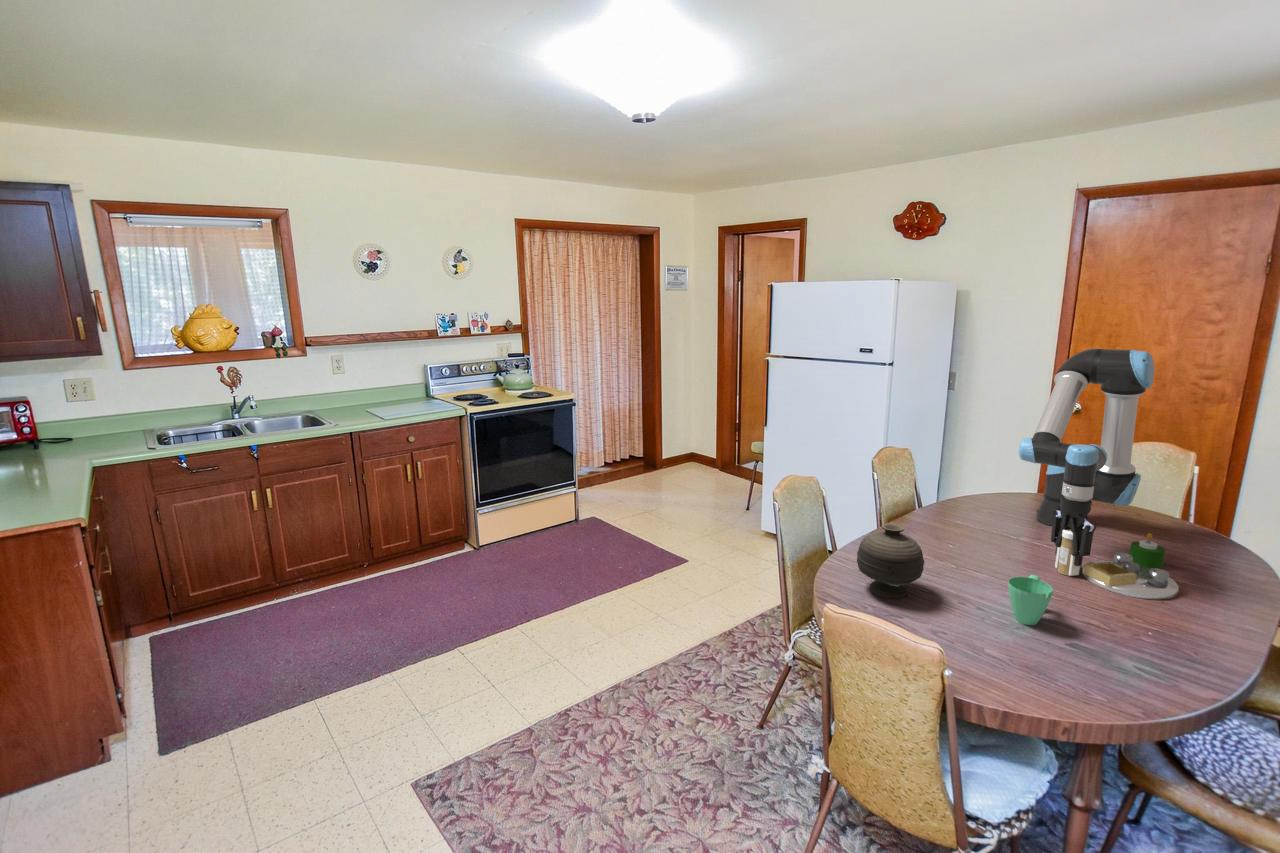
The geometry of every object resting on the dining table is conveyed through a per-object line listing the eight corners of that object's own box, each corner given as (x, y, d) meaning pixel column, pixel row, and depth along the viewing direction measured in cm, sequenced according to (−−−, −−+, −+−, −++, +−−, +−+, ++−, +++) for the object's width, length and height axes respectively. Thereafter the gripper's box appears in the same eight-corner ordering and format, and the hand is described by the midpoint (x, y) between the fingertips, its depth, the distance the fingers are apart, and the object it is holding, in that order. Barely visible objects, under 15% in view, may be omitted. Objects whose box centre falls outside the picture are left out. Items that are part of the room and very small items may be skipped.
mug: (1046, 634, 154) (1051, 598, 152) (1001, 622, 160) (1005, 587, 158) (1052, 610, 165) (1056, 576, 163) (1009, 600, 171) (1013, 566, 169)
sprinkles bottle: (1077, 577, 184) (1083, 534, 181) (1059, 575, 185) (1065, 533, 183) (1072, 570, 188) (1078, 529, 186) (1055, 568, 190) (1060, 527, 187)
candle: (1163, 562, 193) (1168, 532, 191) (1161, 571, 187) (1166, 540, 185) (1129, 555, 198) (1134, 526, 196) (1126, 563, 192) (1131, 533, 190)
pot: (869, 567, 192) (878, 508, 186) (928, 591, 179) (939, 528, 174) (841, 588, 180) (849, 526, 174) (902, 615, 167) (913, 548, 162)
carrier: (1064, 568, 190) (1066, 551, 189) (1128, 562, 193) (1130, 546, 192) (1128, 602, 169) (1131, 584, 168) (1199, 596, 171) (1202, 577, 170)
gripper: (1042, 489, 190) (1033, 559, 195) (1090, 508, 173) (1079, 585, 178) (1064, 487, 191) (1055, 558, 196) (1114, 506, 174) (1102, 583, 179)
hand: (1066, 570), depth 187 cm, fingers closed on sprinkles bottle, 4 cm apart
